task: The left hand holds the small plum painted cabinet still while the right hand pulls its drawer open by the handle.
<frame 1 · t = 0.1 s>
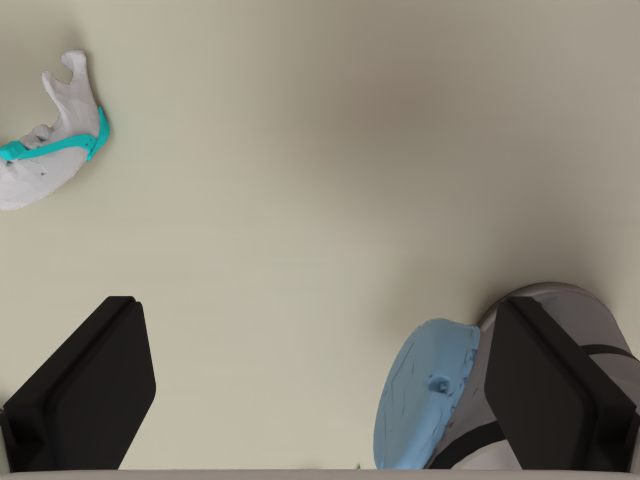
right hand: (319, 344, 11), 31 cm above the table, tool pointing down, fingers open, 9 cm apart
anatomical model: (40, 129, 40), on the table
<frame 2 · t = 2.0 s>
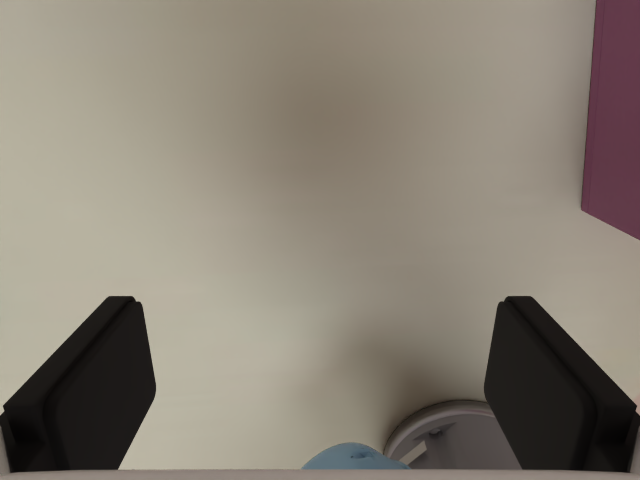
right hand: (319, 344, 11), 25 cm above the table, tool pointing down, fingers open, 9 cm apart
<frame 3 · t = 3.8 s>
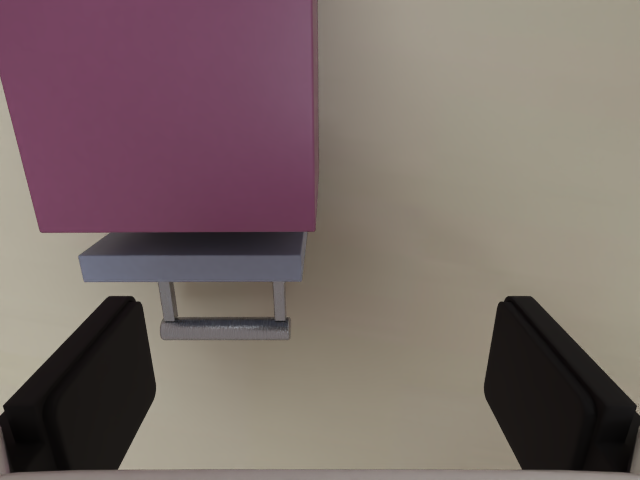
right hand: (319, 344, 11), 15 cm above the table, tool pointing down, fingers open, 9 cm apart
drawer: (201, 97, 19), point 5 cm above the table, slide at 1.3 cm
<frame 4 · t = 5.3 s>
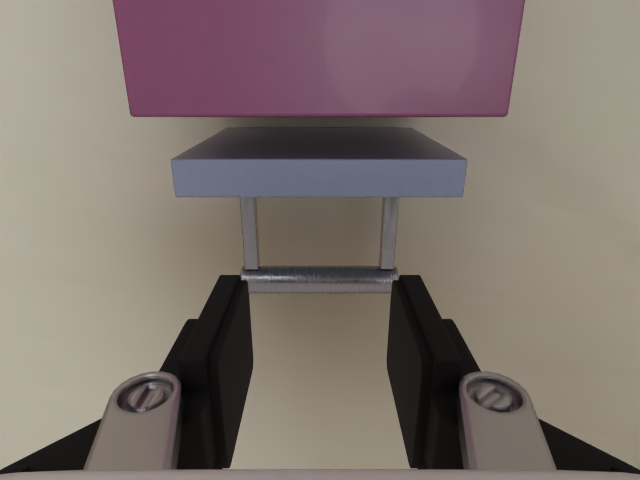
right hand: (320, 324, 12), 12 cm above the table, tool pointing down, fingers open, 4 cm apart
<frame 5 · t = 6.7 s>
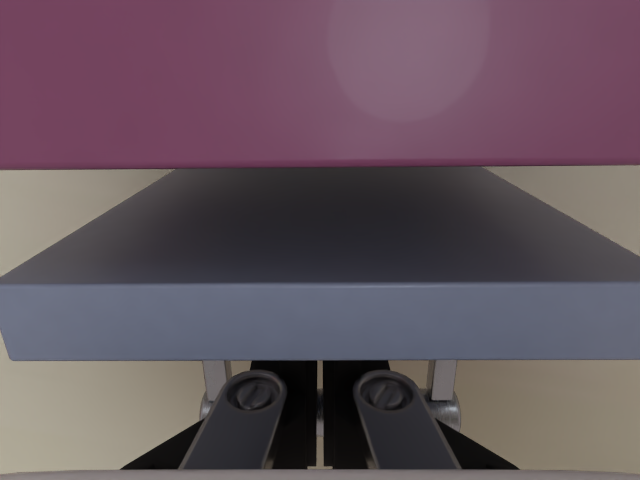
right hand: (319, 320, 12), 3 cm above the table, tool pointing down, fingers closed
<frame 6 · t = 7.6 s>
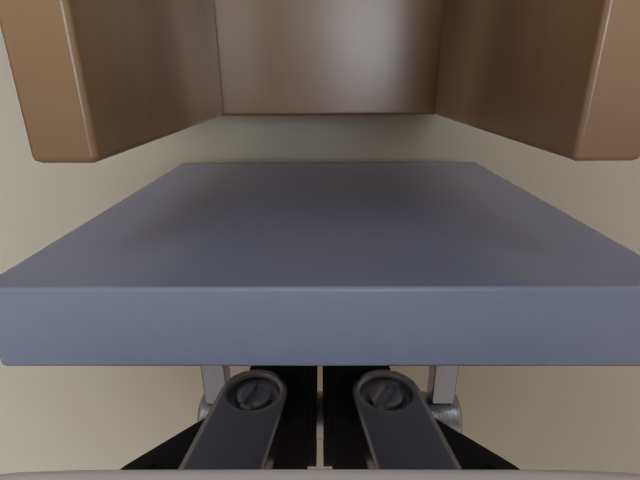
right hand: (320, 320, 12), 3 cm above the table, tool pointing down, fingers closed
when the left hand's fingers open (5 cm above the table, at t = 9.5 s): cabinet stays where it is, on the table.
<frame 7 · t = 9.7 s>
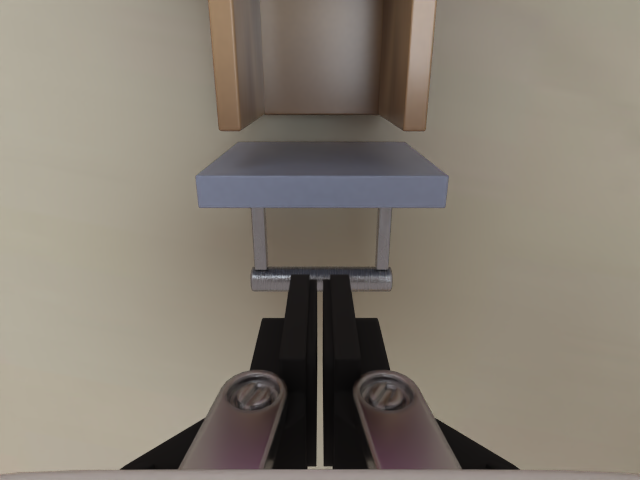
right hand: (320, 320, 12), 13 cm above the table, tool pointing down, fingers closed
drawer: (321, 6, 17), point 5 cm above the table, slide at 8.2 cm
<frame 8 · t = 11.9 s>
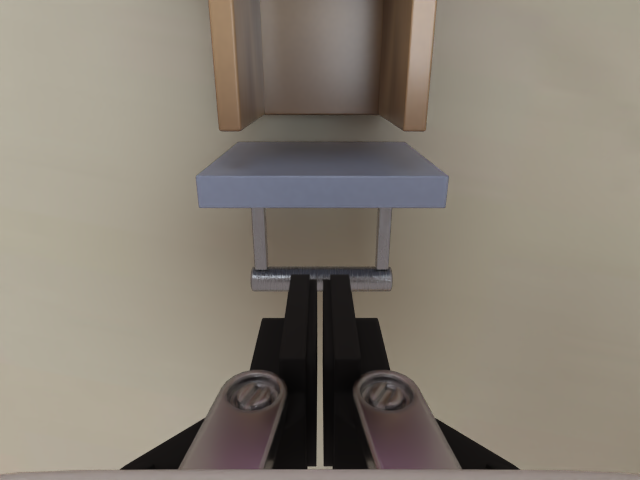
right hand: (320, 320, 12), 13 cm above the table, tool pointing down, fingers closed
drawer: (322, 6, 17), point 5 cm above the table, slide at 8.2 cm
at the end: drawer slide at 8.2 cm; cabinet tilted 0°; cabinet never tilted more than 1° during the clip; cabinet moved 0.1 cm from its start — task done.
